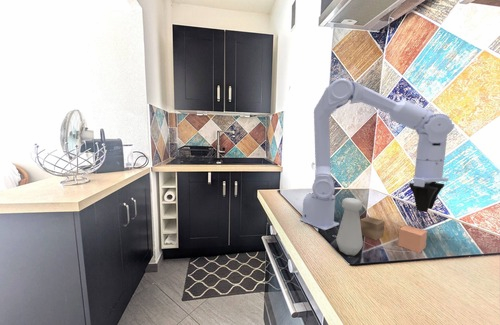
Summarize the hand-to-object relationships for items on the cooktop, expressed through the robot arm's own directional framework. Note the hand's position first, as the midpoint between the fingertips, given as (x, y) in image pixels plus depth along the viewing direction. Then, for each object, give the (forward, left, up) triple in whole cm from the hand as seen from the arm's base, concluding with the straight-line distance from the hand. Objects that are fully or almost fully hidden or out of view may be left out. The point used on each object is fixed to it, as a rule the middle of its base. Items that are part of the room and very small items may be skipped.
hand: (424, 209), depth 57 cm
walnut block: (-9, -10, -8) cm, 16 cm away
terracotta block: (0, -8, -8) cm, 11 cm away
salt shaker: (-8, -24, -9) cm, 26 cm away
